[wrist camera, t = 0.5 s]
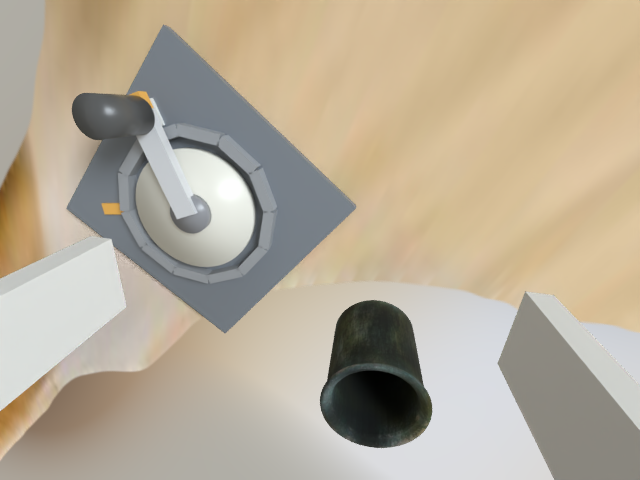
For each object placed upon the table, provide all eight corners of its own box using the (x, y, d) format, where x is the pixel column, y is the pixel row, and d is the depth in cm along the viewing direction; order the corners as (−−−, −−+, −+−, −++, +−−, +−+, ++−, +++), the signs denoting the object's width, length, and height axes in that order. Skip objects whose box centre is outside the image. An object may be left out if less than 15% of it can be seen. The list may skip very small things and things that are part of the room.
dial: (273, 248, 38) (248, 284, 30) (176, 271, 41) (132, 309, 33) (204, 72, 31) (150, 61, 23) (96, 117, 35) (18, 120, 27)
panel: (73, 206, 41) (56, 211, 39) (169, 26, 31) (154, 20, 29) (228, 328, 45) (220, 340, 43) (356, 205, 35) (355, 212, 33)
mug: (424, 301, 39) (445, 377, 28) (402, 387, 45) (413, 477, 34) (337, 288, 40) (324, 356, 29) (327, 373, 46) (313, 457, 35)
